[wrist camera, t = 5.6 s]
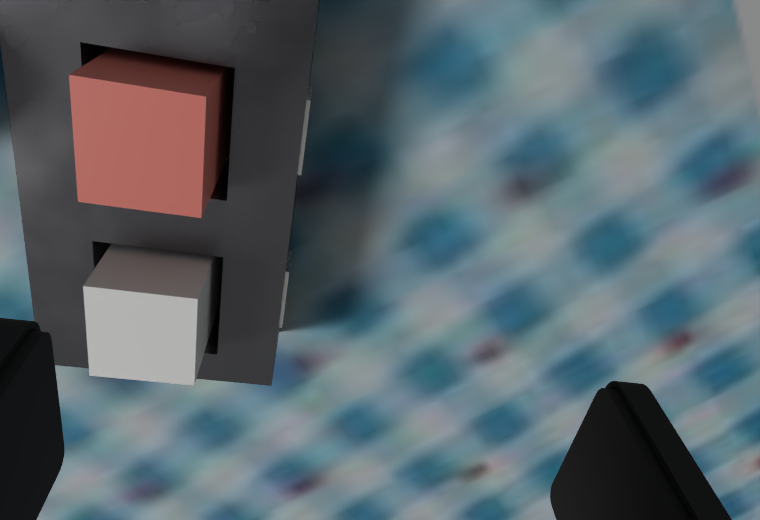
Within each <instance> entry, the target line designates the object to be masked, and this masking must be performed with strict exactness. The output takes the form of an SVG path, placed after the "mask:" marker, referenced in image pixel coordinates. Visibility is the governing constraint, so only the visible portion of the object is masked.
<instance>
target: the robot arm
mask: <svg viewBox="0 0 760 520" xmlns="http://www.w3.org/2000/svg"><path fill="white" fill-rule="evenodd" d="M63 458H64V440H63V432H62V423H61V415H60V406H59V397H58V389H57V380H56V372H55V363H54V354H53V346H52V338H51V335H50V333H48V332H42V331H41V329H40V326H39V324H38V323H37V322H34V321H25V320H15V319H5V318H0V520H36V519H37V517H38V515H39V513H40V511H41V509H42V507H43V505H44V503H45V500H46V498H47V496H48V494H49V492H50V490H51V488H52V486H53V484H54V482H55V480H56V478H57V476H58V473H59V471H60V469H61V466H62V462H63ZM550 498H551V504H552V508H553V511H554V514H555V517H556V519H557V520H731V518H730V516H729V515H728V513H727V512H726V510H725V508H724V507H723V505H722V504H721V502H720V500H719V499H718V497H717V496H716V494H715V493H714V491H713V489H712V488H711V486H710V485H709V483H708V481H707V480H706V478H705V477H704V475H703V473H702V472H701V470H700V469H699V467H698V465H697V464H696V462H695V461H694V459H693V457H692V456H691V454H690V453H689V451H688V450H687V448H686V446H685V445H684V443H683V442H682V440H681V438H680V437H679V435H678V434H677V432H676V430H675V429H674V427H673V426H672V424H671V422H670V421H669V419H668V418H667V416H666V414H665V413H664V411H663V410H662V408H661V407H660V405H659V403H658V402H657V400H656V399H655V397H654V395H653V394H652V392H651V391H650V389H649V388H648V387H647V386H646V385H644V384H638V383H628V382H618V381H612V382H610V383H609V384H608V385H607V386H606V388H601V389H600V390H598V392H597V393H596V395H595V397H594V399H593V401H592V403H591V405H590V408H589V410H588V412H587V414H586V416H585V418H584V420H583V422H582V424H581V426H580V428H579V430H578V432H577V434H576V436H575V438H574V440H573V442H572V444H571V447H570V449H569V451H568V453H567V455H566V457H565V459H564V461H563V463H562V465H561V467H560V469H559V471H558V473H557V475H556V477H555V479H554V481H553V484H552V486H551V492H550Z"/></svg>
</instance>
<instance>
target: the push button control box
mask: <svg viewBox="0 0 760 520" xmlns="http://www.w3.org/2000/svg"><path fill="white" fill-rule="evenodd" d="M319 2H320V0H0V45H1V53H2V61H3V69H4V77H5V85H6V94H7V102H8V110H9V118H10V126H11V134H12V142H13V150H14V158H15V167H16V175H17V183H18V191H19V199H20V207H21V215H22V223H23V231H24V240H25V248H26V256H27V264H28V272H29V280H30V288H31V296H32V305H33V313H34V321H35V322H37V323H38V324H39V326H40V329H41V331H42V332H48V333H50V335H51V338H52V346H53V354H54V363H55V365H60V366H71V367H81V368H89V362H88V348H87V334H86V321H85V307H84V293H83V285H84V284H85V282H86V281H87V279H88V278H89V276H90V275H91V273H92V272H93V270H94V269H95V267H96V266H97V264H98V263H99V261H100V260H101V258H102V257H103V255H104V254H105V252H106V251H107V249H108V248H109V246H110V245H111V243H112V244H120V245H128V246H136V247H144V248H153V249H161V250H169V251H177V252H185V253H193V254H201V255H209V256H217V257H223V272H222V288H221V302H219V305H218V308H217V312H216V315H215V318H214V322H213V325H212V328H211V332H210V335H209V338H208V342H207V345H206V348H205V352H204V355H203V358H202V362H201V365H200V368H199V372H198V375H197V378H196V379H207V380H217V381H228V382H238V383H249V384H259V385H270V386H271V385H272V378H273V371H274V364H275V357H276V350H277V342H278V335H279V328H282V325H283V318H284V310H285V303H286V295H287V287H288V279H289V271H290V263H291V255H292V251H289V246H290V238H291V230H292V222H293V213H294V205H295V197H296V189H297V181H298V175H301V174H302V167H303V159H304V152H305V144H306V136H307V128H308V120H309V112H310V104H311V96H312V88H310V87H309V83H310V75H311V67H312V59H313V51H314V42H315V34H316V26H317V18H318V10H319ZM110 48H118V49H124V50H130V51H136V52H142V53H148V54H154V55H160V56H166V57H172V58H178V59H184V60H190V61H196V62H202V63H208V64H214V65H220V66H226V67H232V68H235V78H234V94H233V110H232V126H231V143H230V159H229V160H227V161H226V163H225V165H224V168H223V170H222V172H221V174H220V177H219V179H218V181H217V184H216V186H215V188H214V190H213V193H212V195H211V197H210V200H209V202H208V204H207V206H206V209H205V211H204V213H203V216H202V218H197V217H189V216H181V215H174V214H166V213H159V212H151V211H144V210H136V209H128V208H121V207H113V206H106V205H98V204H91V203H83V202H78V196H77V182H76V168H75V154H74V140H73V126H72V112H71V98H70V84H69V74H71V73H72V72H74V71H76V70H77V69H79V68H80V67H82V66H84V65H85V64H87V63H88V62H90V61H91V60H93V59H95V58H96V57H98V56H99V55H101V54H103V53H104V52H106V51H107V50H109V49H110Z"/></svg>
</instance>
